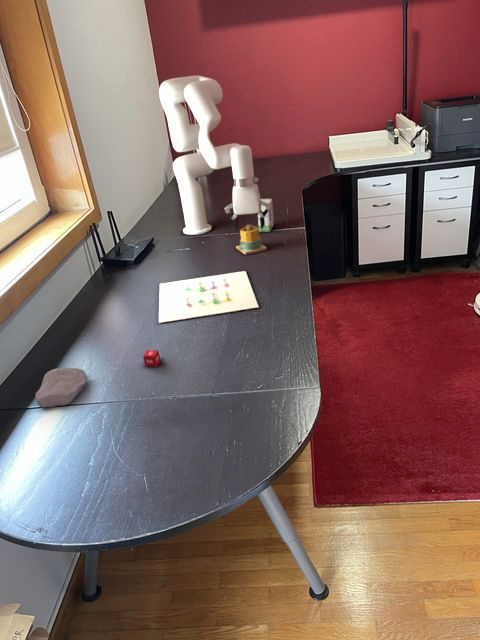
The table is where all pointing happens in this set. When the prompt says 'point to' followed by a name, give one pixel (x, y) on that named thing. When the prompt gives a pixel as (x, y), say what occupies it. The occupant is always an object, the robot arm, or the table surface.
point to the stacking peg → (250, 245)
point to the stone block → (60, 387)
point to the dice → (151, 358)
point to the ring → (249, 234)
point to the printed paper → (205, 296)
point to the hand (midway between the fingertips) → (249, 228)
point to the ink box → (267, 216)
